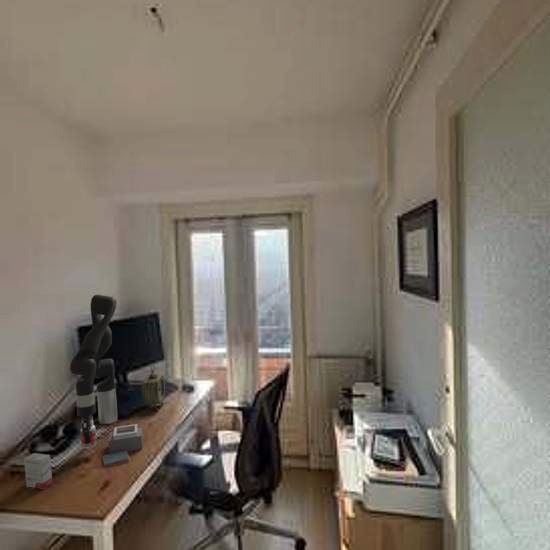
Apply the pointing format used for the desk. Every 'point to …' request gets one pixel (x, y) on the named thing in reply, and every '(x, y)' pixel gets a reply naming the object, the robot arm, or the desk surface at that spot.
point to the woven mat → (116, 458)
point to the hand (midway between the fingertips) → (88, 440)
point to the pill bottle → (92, 437)
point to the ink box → (38, 470)
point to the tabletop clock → (153, 389)
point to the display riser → (125, 439)
